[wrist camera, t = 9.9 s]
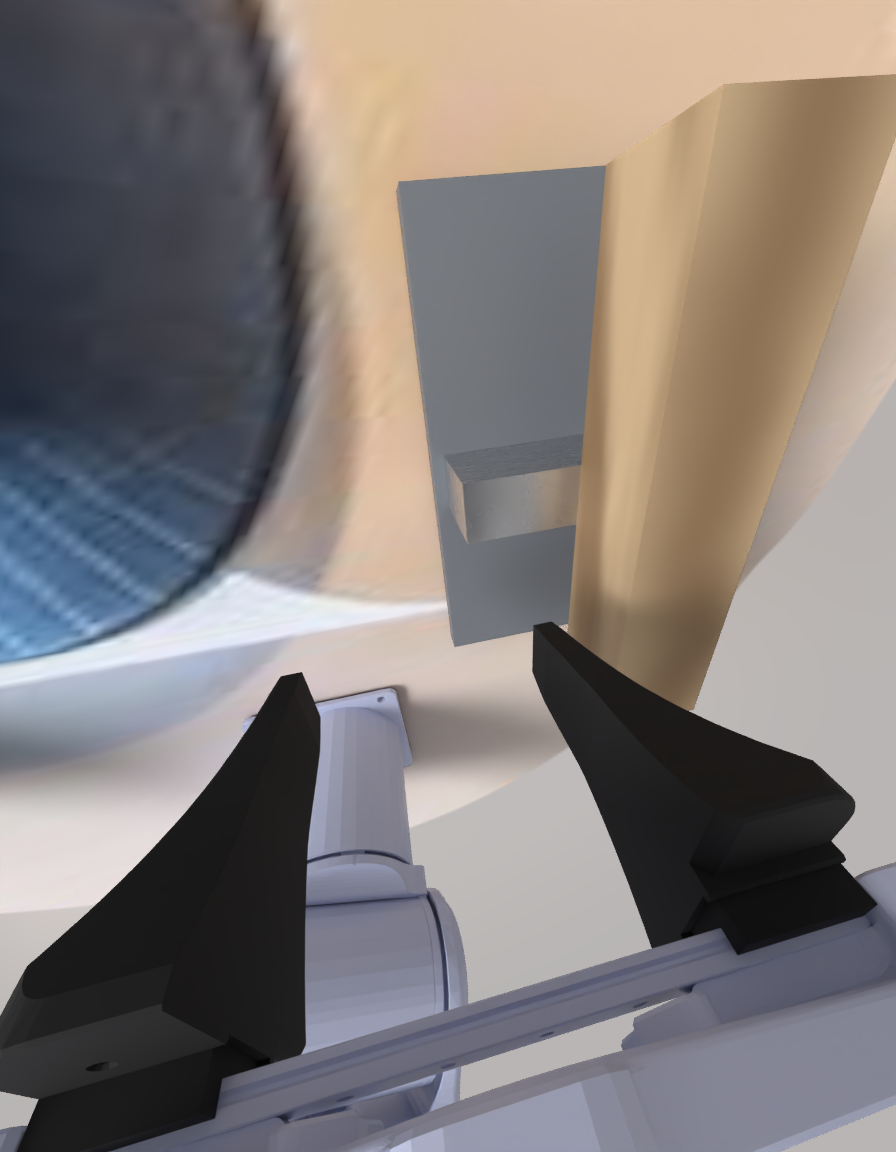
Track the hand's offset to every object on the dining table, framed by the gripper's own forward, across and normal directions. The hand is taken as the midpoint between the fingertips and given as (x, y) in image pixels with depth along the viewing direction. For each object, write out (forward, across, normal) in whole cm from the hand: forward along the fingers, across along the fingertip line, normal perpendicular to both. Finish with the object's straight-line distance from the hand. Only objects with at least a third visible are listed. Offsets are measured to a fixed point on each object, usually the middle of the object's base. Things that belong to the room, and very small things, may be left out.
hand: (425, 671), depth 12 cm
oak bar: (+4, -9, -3) cm, 10 cm away
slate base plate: (+9, -9, -3) cm, 13 cm away
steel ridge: (+9, -9, -3) cm, 13 cm away
